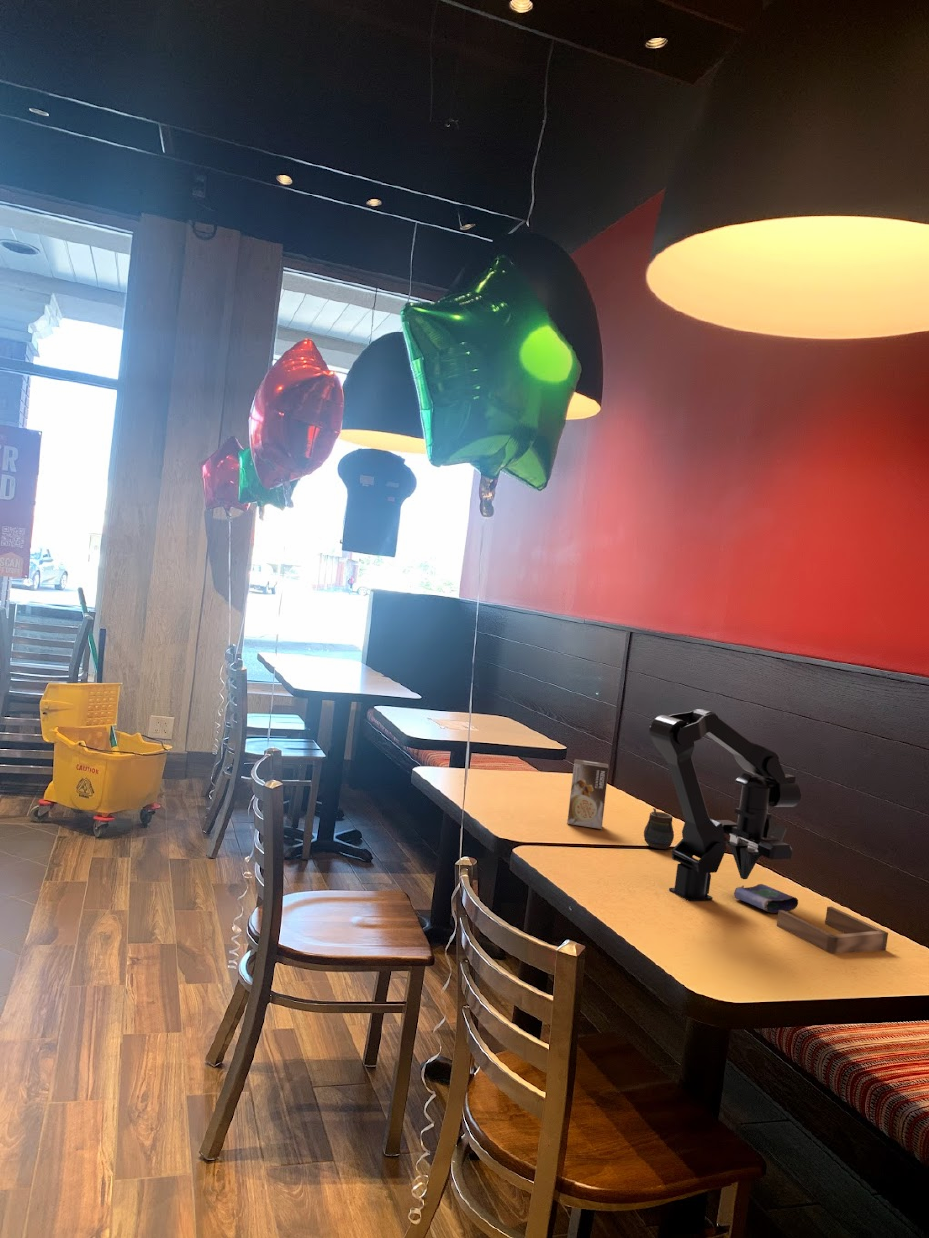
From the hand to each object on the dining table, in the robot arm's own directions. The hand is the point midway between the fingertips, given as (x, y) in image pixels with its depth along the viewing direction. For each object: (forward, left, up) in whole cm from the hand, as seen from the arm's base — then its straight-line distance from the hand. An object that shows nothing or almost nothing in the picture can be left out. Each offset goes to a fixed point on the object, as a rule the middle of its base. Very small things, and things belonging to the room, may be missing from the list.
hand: (743, 878), depth 195 cm
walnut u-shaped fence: (0, -23, -4) cm, 23 cm away
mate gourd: (+3, +33, -4) cm, 33 cm away
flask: (0, -11, -4) cm, 12 cm away
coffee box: (-5, +52, -4) cm, 53 cm away
